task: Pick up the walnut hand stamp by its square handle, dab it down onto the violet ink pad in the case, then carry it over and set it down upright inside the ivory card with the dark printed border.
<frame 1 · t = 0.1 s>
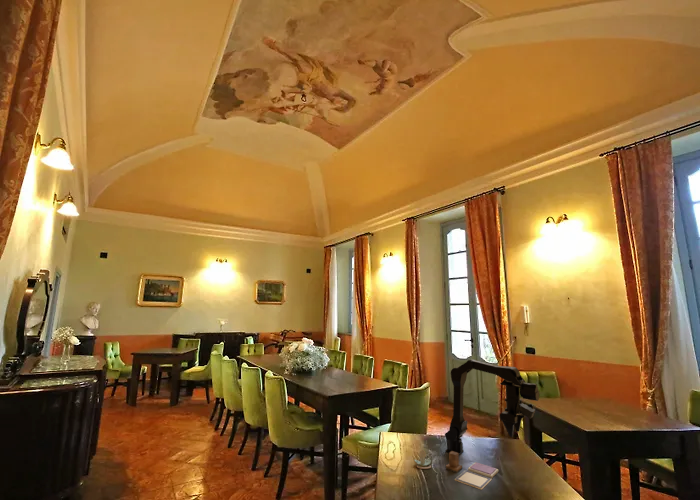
hand: (514, 434, 155), 15 cm above the table, tool pointing down, fingers open, 9 cm apart
pacifier: (423, 467, 154), on the table
ink pad: (483, 470, 151), on the table
marked card: (473, 479, 143), on the table
stamp: (454, 469, 152), on the table
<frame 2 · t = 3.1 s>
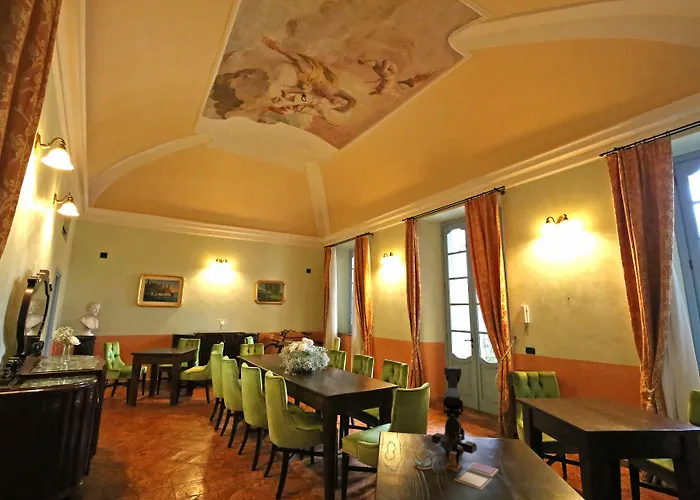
hand: (453, 463, 153), 2 cm above the table, tool pointing down, fingers closed on stamp, 3 cm apart
stamp: (454, 469, 152), on the table, touching gripper
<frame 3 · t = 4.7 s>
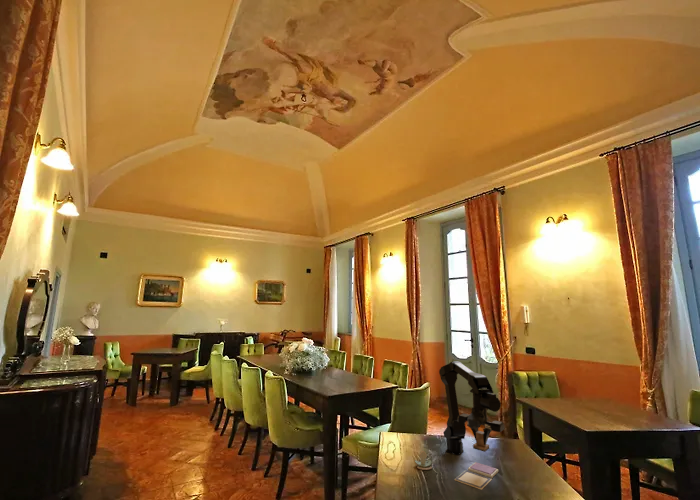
hand: (481, 443, 153), 11 cm above the table, tool pointing down, fingers closed on stamp, 3 cm apart
stamp: (481, 448, 152), point 9 cm above the table, touching gripper
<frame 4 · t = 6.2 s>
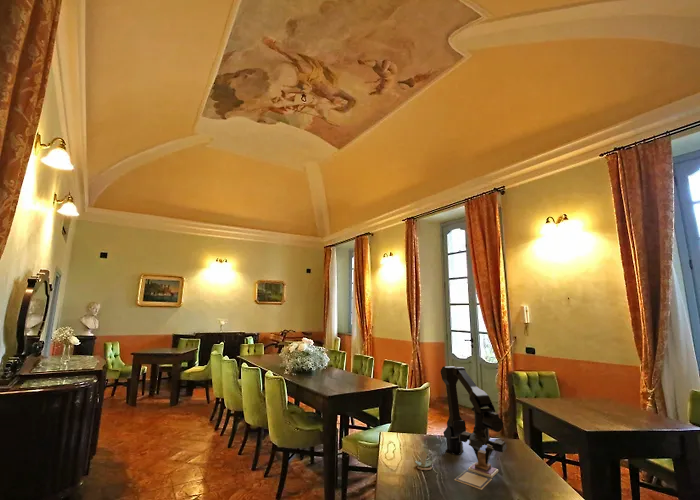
hand: (482, 462, 152), 3 cm above the table, tool pointing down, fingers closed on stamp, 3 cm apart
stamp: (482, 467, 151), point 1 cm above the table, touching gripper
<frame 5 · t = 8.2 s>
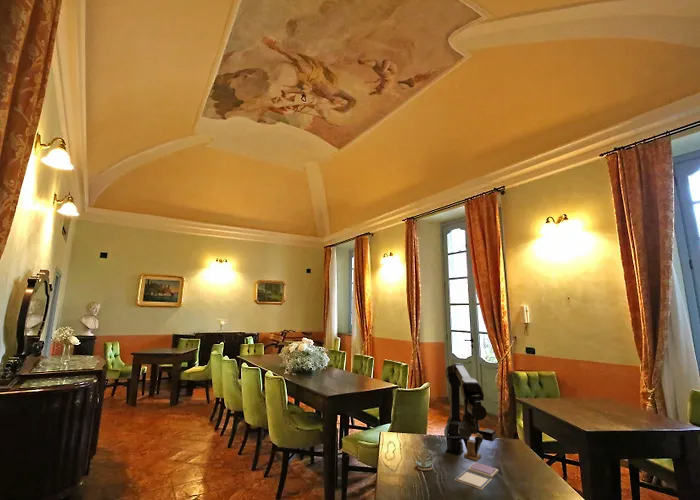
hand: (472, 452, 145), 10 cm above the table, tool pointing down, fingers closed on stamp, 3 cm apart
stamp: (472, 458, 144), point 8 cm above the table, touching gripper
when the fingers open (3 cm above the table, at t = 9.5 s): stamp drops 1 cm, resting on marked card.
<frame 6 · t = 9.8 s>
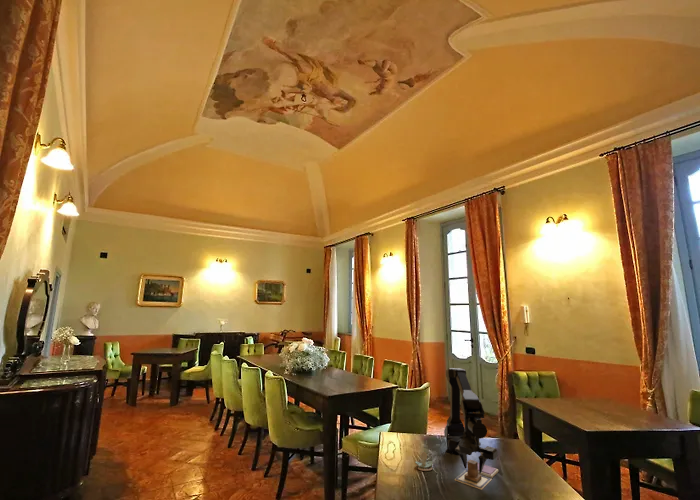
hand: (472, 470, 144), 3 cm above the table, tool pointing down, fingers open, 6 cm apart
stamp: (473, 479, 143), resting on marked card
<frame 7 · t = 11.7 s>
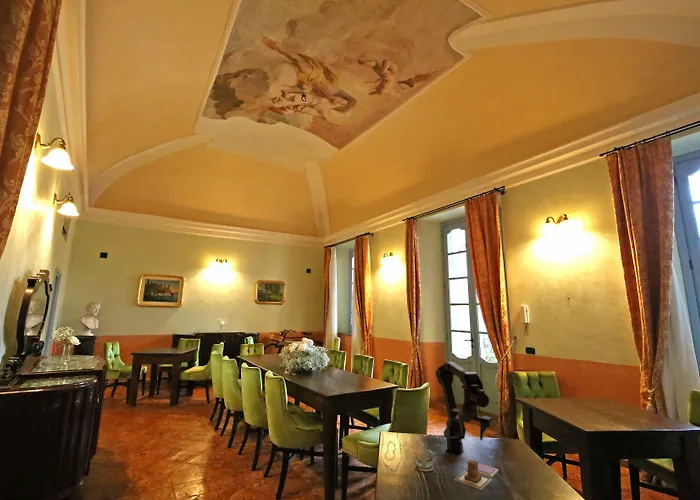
hand: (471, 437, 158), 12 cm above the table, tool pointing down, fingers open, 9 cm apart
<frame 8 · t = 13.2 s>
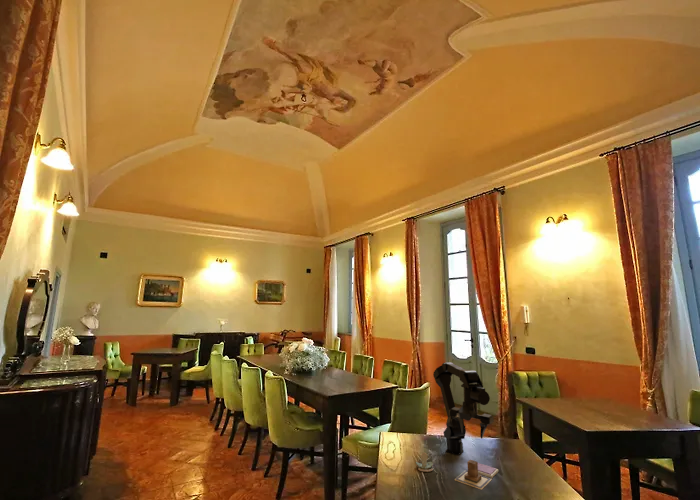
hand: (471, 435, 159), 12 cm above the table, tool pointing down, fingers open, 9 cm apart
at the end: stamp inside the target area on the marked card (0.1 cm from its centre), point 0.3 cm above the marked card's base; stamp tilted 0°; the gripper is holding nothing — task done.
